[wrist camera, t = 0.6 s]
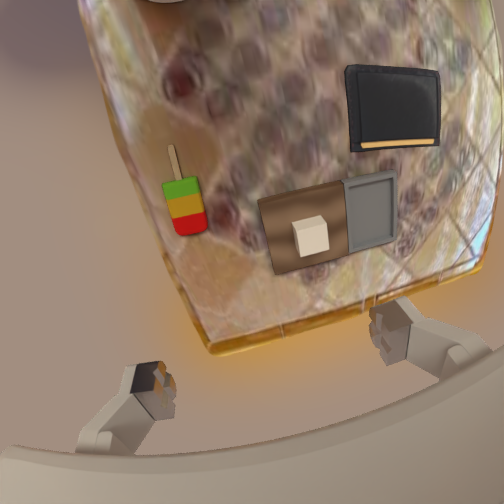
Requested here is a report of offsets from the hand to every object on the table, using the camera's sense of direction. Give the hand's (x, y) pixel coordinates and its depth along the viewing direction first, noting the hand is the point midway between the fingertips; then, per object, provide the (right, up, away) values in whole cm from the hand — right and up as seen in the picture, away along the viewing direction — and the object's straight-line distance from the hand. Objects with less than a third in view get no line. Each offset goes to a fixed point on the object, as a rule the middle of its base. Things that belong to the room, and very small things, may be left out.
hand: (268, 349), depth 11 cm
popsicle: (-12, +14, +36) cm, 40 cm away
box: (+21, +11, +41) cm, 48 cm away
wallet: (+24, +28, +32) cm, 49 cm away
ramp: (+9, +8, +42) cm, 43 cm away
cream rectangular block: (+9, +7, +40) cm, 41 cm away
